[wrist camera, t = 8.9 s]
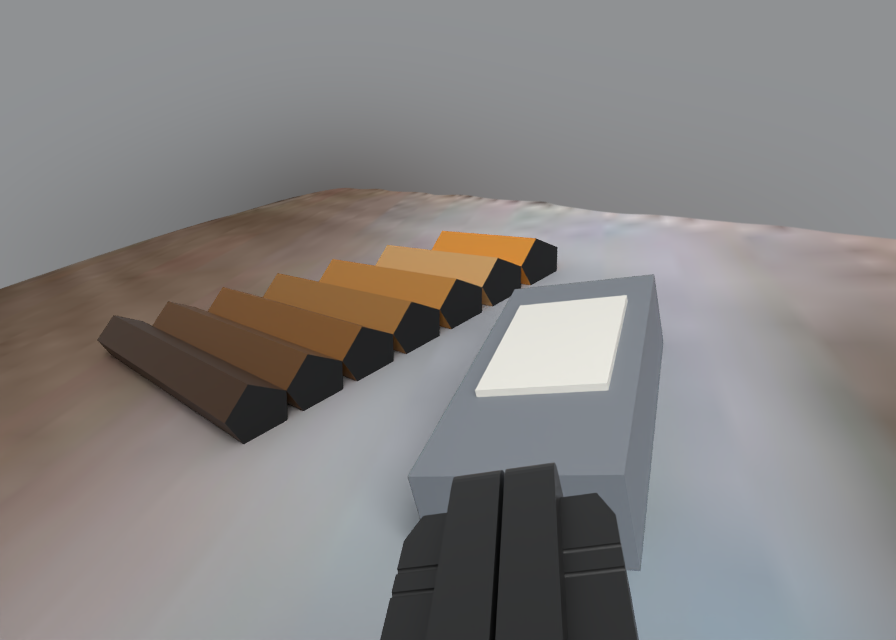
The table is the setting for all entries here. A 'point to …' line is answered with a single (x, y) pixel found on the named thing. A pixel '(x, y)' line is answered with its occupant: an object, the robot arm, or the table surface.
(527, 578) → the robot arm
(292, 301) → the pan flute
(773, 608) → the table surface
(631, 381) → the slate block
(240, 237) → the table surface
